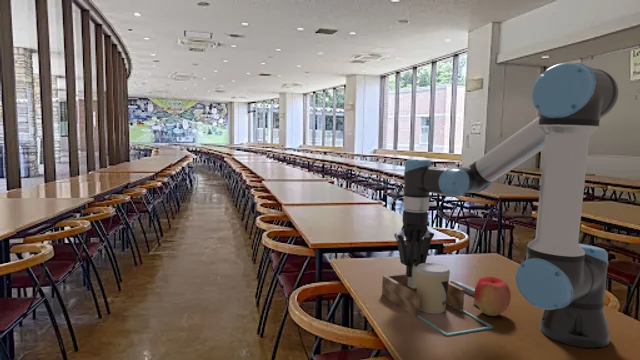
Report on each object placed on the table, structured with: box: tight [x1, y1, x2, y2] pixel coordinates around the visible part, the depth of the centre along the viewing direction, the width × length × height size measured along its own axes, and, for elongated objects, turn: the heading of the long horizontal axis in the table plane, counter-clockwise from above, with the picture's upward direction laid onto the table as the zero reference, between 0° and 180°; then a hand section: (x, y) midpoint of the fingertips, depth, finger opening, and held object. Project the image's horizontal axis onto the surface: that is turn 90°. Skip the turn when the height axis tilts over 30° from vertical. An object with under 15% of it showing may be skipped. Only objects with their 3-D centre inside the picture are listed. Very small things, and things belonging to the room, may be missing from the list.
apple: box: [473, 276, 512, 317], centre depth 122 cm, size 10×10×10 cm
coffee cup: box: [416, 262, 451, 314], centre depth 126 cm, size 9×9×12 cm
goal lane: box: [416, 308, 495, 337], centre depth 117 cm, size 12×15×1 cm
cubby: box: [381, 272, 465, 318], centre depth 131 cm, size 18×16×6 cm
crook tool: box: [449, 279, 478, 307], centre depth 138 cm, size 18×7×2 cm, turn 24°
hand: (411, 286), depth 135 cm, fingers closed
